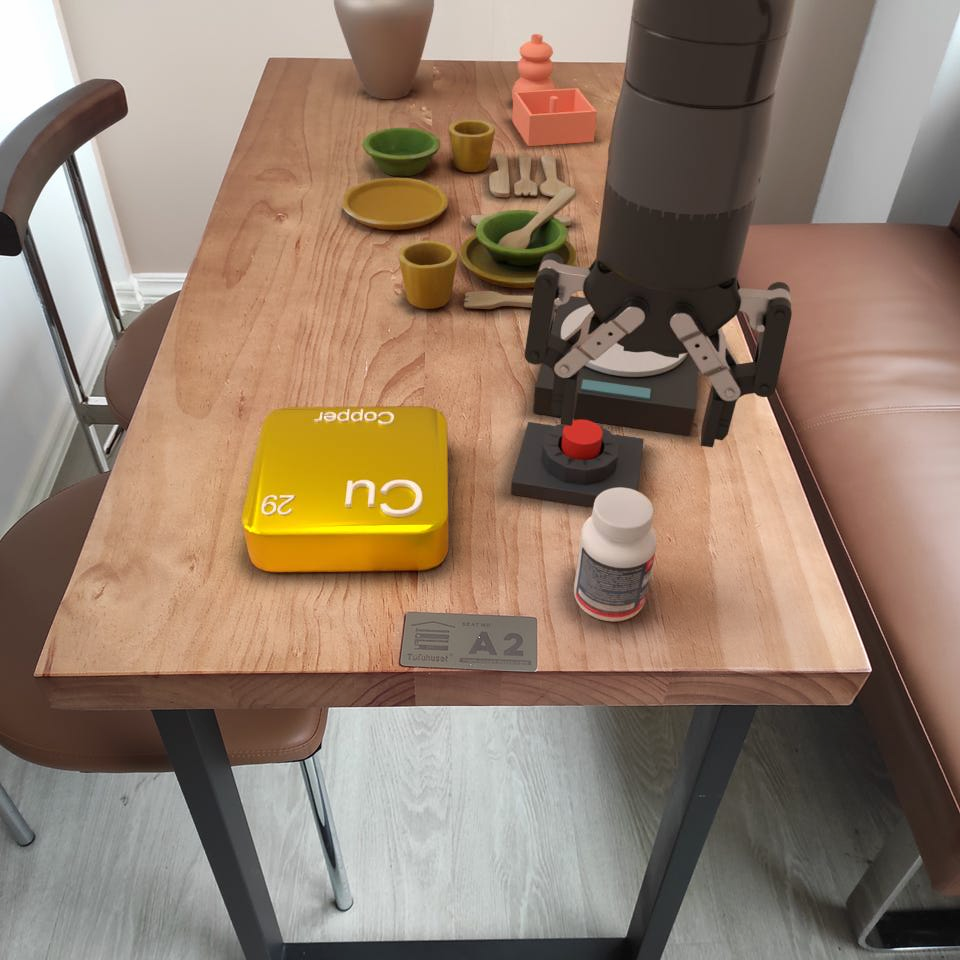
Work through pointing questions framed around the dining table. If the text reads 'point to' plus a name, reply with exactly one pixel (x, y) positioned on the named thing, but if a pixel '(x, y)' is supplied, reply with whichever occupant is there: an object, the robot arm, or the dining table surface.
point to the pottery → (548, 102)
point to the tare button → (582, 440)
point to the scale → (624, 383)
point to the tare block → (574, 467)
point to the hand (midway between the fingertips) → (637, 428)
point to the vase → (385, 41)
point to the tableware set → (499, 237)
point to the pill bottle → (616, 555)
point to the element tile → (349, 490)
